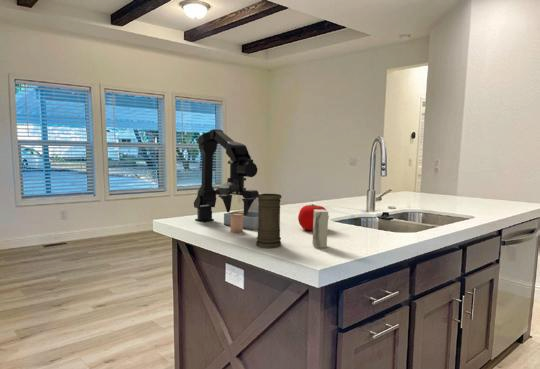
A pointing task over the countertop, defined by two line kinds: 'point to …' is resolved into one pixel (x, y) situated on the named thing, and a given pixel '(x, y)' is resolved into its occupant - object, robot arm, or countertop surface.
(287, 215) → the countertop surface
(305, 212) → the tomato
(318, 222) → the box
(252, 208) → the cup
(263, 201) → the container
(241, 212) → the cube
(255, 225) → the box
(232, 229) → the cylinder
